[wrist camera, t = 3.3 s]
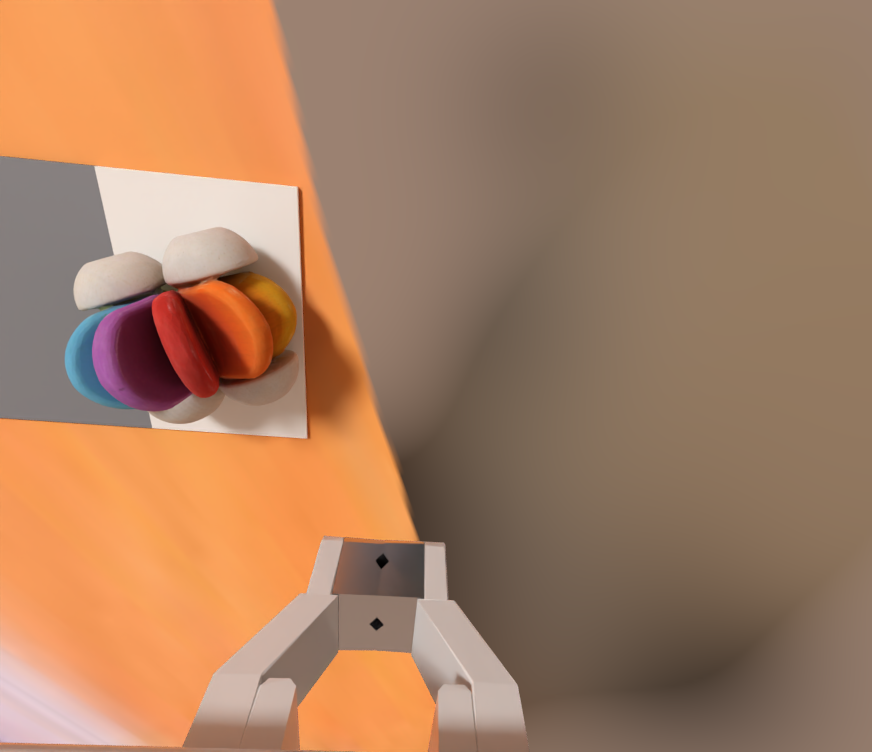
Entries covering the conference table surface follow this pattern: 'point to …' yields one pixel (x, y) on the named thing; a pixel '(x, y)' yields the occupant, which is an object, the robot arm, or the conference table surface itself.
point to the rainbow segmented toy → (182, 330)
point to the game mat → (114, 234)
